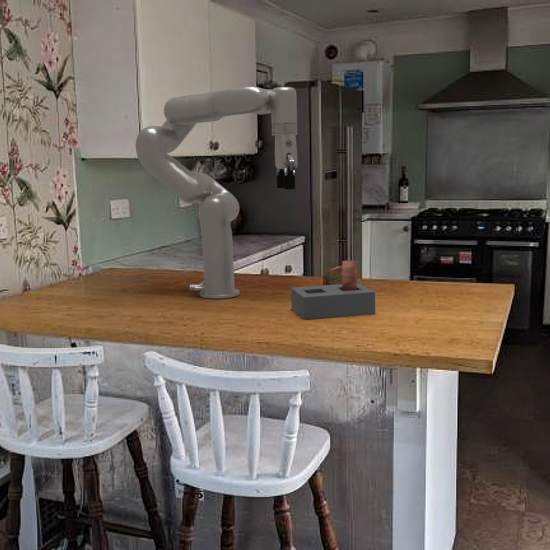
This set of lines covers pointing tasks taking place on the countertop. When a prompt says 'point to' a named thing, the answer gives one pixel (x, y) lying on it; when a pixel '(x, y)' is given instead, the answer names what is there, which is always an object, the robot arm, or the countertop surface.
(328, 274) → the tin
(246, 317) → the countertop surface
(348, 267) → the pin
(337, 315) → the bore block
